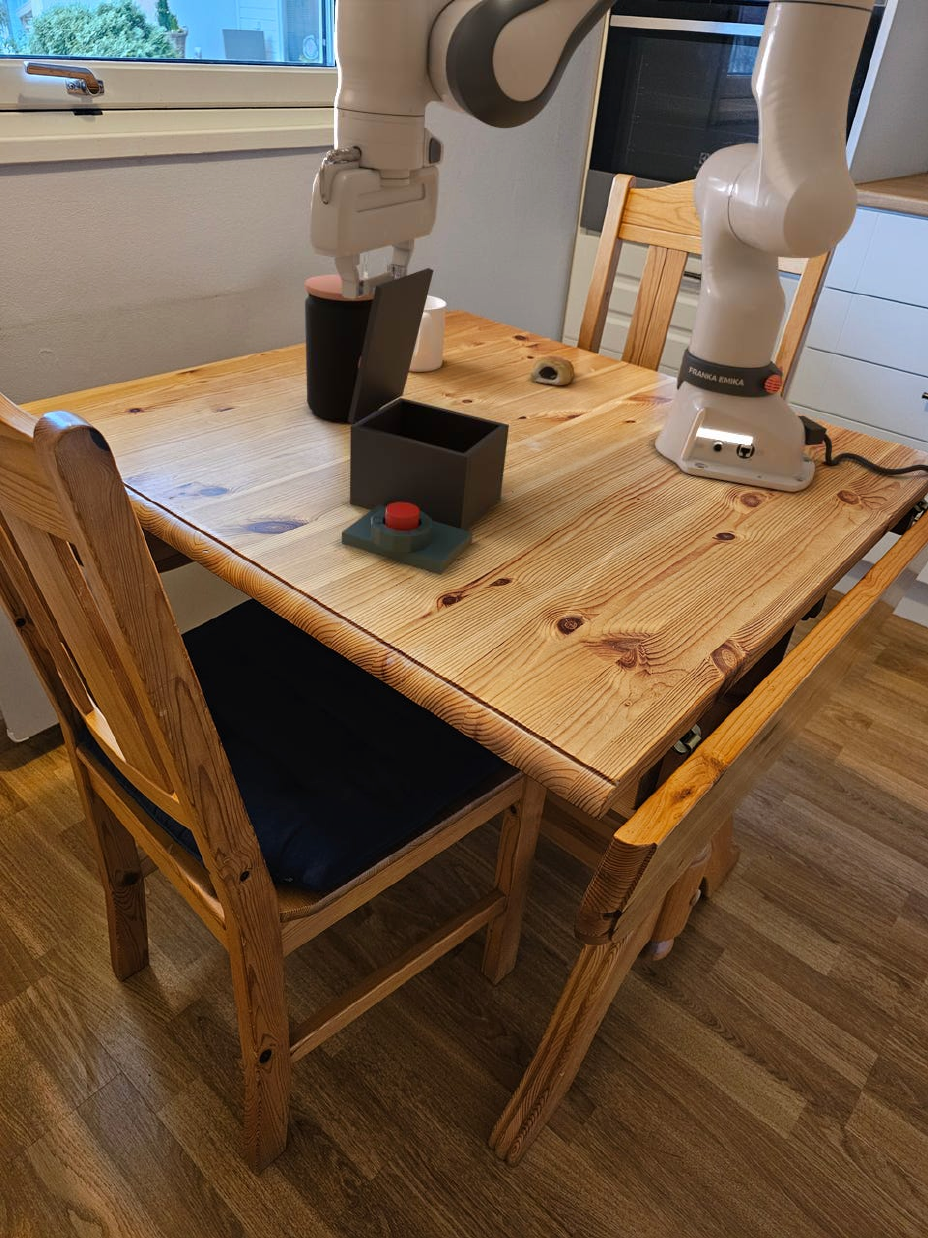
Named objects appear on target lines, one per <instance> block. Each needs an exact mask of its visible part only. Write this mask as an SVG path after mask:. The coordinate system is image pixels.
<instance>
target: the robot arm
mask: <svg viewBox="0 0 928 1238" xmlns="http://www.w3.org/2000/svg"><path fill="white" fill-rule="evenodd" d="M617 1H618V0H336V1H335V17H334V18H335V19H334V55H335V56H334V57H335V62H336V65H337V71H338V84H337V91H336V95H335V99H334V148H332V149H330V150H328V151H327V152H326V156H325V157H324V158H323V161H322V163H320V165H319V168H318V173H317V174H316V176H315V179H314V182H313V186H312V187H313V188H312V195H311V196H312V197H311V206H310V207H311V208H310V223H309V224H310V227H309V240H310V245H311V247H312V249H313V251H314V253H315V254H317V255H320V256H323V257H330V258H334V265H335V268H336V270H337V273H338V275H340V278H341V279H342V295H343V297H344V298H348V299H356V298H359V297H362V296H363V292H364V291H363V287H364V280H361V279H359V277H360V275H359V271H358V265H360V261H361V260H360V259H361V258H360V257H361V254H364V253H368V252H372V251H375V250H378V249H383V248H386V247H389V246H391V247H392V248H393V251H392V255H391V260H390V263H389V264H387V266H386V272H387V273H390V274H391V275H392V277H393V280H395V279H398V278H401V277H404V276H407V275H408V267H409V264H410V261H411V258H412V256H413V252H414V250H415V239H419V238H422V237H426V236H429V235H430V234H431V233H432V232H433V229H434V226H435V223H436V219H437V212H438V211H437V210H438V203H439V192H440V191H439V190H440V172H439V169H438V166H439V165H441V164H442V163H443V161H444V155H445V154H444V153H445V152H444V151H445V145H444V142H443V141H442V140H441V139H440V138H438V137H437V136H435V135H434V134H433V133H432V132H431V131H430V130H429V129H428V128H427V127H425V124H426V108H427V106H428V105H429V104H430V103H432V102H434V103H436V104H438V105H439V106H441V107H444V108H445V109H447V110H451V111H454V112H457V113H458V114H462V115H466V116H470V117H473V118H474V119H476V120H478V121H480V122H482V123H484V124H485V125H487V126H490V127H492V128H497V129H512V128H518V127H519V126H523V125H524V124H527V123H528V122H530V121H532V120H533V119H535V118H536V117H537V116H538V115H539V114H540V113H541V112H542V111H543V110H544V109H545V108H546V107H547V106H548V104H549V102H550V101H551V99H552V98H553V96H554V94H555V93H556V90H557V89H558V86H559V85H560V82H561V80H562V78H563V76H564V73H565V72H566V70H567V67H568V65H569V63H570V62H571V59H572V57H573V56H574V54H575V52H576V51H577V49H578V48H579V47H580V45H581V44H582V42H583V41H584V39H586V38H587V36H588V35H589V34H590V33H591V31H592V30H593V29H594V28H595V27H596V25H598V23H599V22H600V21H601V20H602V19H603V17H605V15H606V14H607V13H608V12H609V11H610V10H611V9H612V7H613V6H614V5H615V4H616V3H617ZM769 2H770V3H768V7H767V11H766V15H765V20H764V23H763V28H762V33H761V36H760V40H759V45H758V48H757V52H756V56H755V61H754V66H753V69H752V74H751V81H750V82H751V83H750V87H751V92H752V95H753V97H754V100H755V103H756V107H757V115H758V141H757V142H756V143H755V142H745V143H739V144H735V145H731V146H726V147H723V148H720V149H718V150H716V151H715V152H713V153H712V154H711V155H710V156H708V158H707V159H706V160H705V161H704V162H703V164H702V165H701V166H700V168H699V170H698V172H697V174H696V177H695V180H694V183H693V189H692V190H693V192H692V198H693V204H694V208H695V210H696V213H697V216H698V220H699V224H700V235H701V236H700V237H701V240H700V241H701V276H700V277H701V279H700V291H699V296H698V302H697V306H696V310H695V311H696V312H695V316H694V321H693V326H692V330H691V335H690V339H689V343H688V346H687V347H686V348H685V349H684V353H683V355H682V356H681V360H680V365H679V369H678V373H677V378H676V393H675V397H674V399H673V402H672V405H671V407H670V410H669V412H668V415H667V418H666V420H665V422H664V424H663V426H662V429H661V430H660V432H659V434H658V436H657V437H656V438H655V441H654V446H655V448H656V450H657V451H658V452H659V453H660V454H661V455H662V456H663V457H665V458H666V459H668V460H670V461H671V462H673V463H675V464H676V465H677V466H678V467H679V469H680V470H681V471H683V472H684V473H686V474H689V475H692V476H698V477H704V478H711V479H716V480H720V481H721V480H722V481H727V482H732V483H738V484H743V485H750V486H755V487H761V488H767V489H773V490H778V491H784V492H791V493H795V492H799V491H802V490H805V489H806V488H808V487H809V486H810V485H811V484H812V482H813V480H814V475H815V472H816V465H815V464H816V463H815V462H814V460H813V459H812V457H810V455H809V454H807V453H805V449H806V446H819V445H820V446H821V445H823V443H824V445H825V452H824V459H825V463H826V464H827V465H828V466H830V467H834V466H837V465H838V464H839V463H840V462H841V461H842V460H845V459H848V460H852V461H856V462H858V463H860V464H861V465H863V466H864V467H866V468H867V469H870V470H871V471H874V472H876V473H879V474H882V475H887V476H901V475H906V474H910V473H913V472H920V471H924V472H926V473H927V474H928V464H921V463H920V464H914V465H910V466H905V467H901V468H888V467H887V468H886V467H883V466H880V465H877V464H875V463H873V462H872V461H871V460H868V459H867V458H866V457H863V456H862V455H859V454H857V453H854V452H853V453H852V452H841V453H840V454H838V455H836V456H835V457H834V458H833V457H832V454H833V443H832V440H831V438H830V437H829V435H828V434H827V430H828V429H827V428H826V427H825V426H823V425H821V424H819V423H817V422H816V421H814V420H812V419H810V418H809V417H808V416H805V415H797V413H795V411H794V410H793V409H792V408H791V407H790V405H788V403H787V402H786V401H785V400H784V398H783V397H782V396H781V395H780V394H779V392H778V391H780V388H782V386H783V382H784V381H783V375H784V372H783V371H784V369H783V366H782V365H780V366H779V367H778V366H777V365H776V363H775V362H773V361H772V357H773V354H774V350H775V347H776V343H777V339H778V336H779V333H780V329H781V326H782V322H783V319H784V316H785V312H786V305H787V301H786V300H787V299H786V294H785V291H784V289H783V286H782V283H781V278H780V269H779V268H780V267H779V266H780V265H779V258H784V259H812V258H819V257H821V256H823V255H825V254H826V253H829V252H830V251H832V250H833V249H835V248H836V247H837V245H839V244H840V243H841V242H842V240H843V239H844V238H845V237H846V235H847V234H848V233H849V231H850V229H851V228H852V227H851V226H852V224H853V222H854V219H855V217H856V213H857V208H858V192H857V187H856V185H855V183H854V180H853V178H852V176H851V173H850V170H849V166H848V158H847V122H848V121H847V119H848V118H847V117H848V109H849V102H850V101H849V100H850V95H851V89H852V86H853V81H854V77H855V74H856V70H857V66H858V62H859V60H860V59H859V58H860V55H861V52H862V49H863V45H864V41H865V37H866V34H867V31H868V26H869V23H870V20H871V17H872V12H873V10H874V8H875V7H874V6H875V3H876V0H769Z"/></svg>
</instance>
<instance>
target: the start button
mask: <svg viewBox="0 0 928 1238" xmlns="http://www.w3.org/2000/svg"><path fill="white" fill-rule="evenodd" d="M419 512H420V510H419V508H418V507H417V506H416V505H414V504H411V503H406V502H396V503H392V504H389V505H388V506H387V507H386V514H385V524H386V526H387V527H388V528H391V529H394V530H401V531H409V530H413V529H417V528H418V526H419Z"/></svg>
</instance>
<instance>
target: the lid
mask: <svg viewBox="0 0 928 1238" xmlns="http://www.w3.org/2000/svg"><path fill="white" fill-rule="evenodd" d="M433 274H434V269H432V268H429V267H427V268H424V269H422V270H419V271H416V272H413V273H410V274H407V276H404V277H401V278H398V279H395V280H393V277H392V275H391V274H390V273H387V271H386V272H382V273H379V274H375V275H373V276H369V277H366V278H367V279H364V287H363V291H364V292H363V296H367V295H370V294H372V295H374V298H373V303H372V307H371V312H370V317H369V322H368V327H367V332H366V336H365V341H364V346H363V351H362V356H361V360H360V365H359V370H358V375H357V380H356V385H355V389H354V394H353V399H352V404H351V409H350V413H349V418H348V421H349V422H351V423H350V424H355V423H357V421H358V420H360V419H362V418H364V417H365V416H367V415H369V414H371V413H372V412H374V411H376V410H380V409H381V408H383V407H385V406H387V405H388V404H390V403H392V402H394V401H395V400H398V399H399V398H402V396H404V392H405V389H406V384H407V379H408V376H409V372H410V371H409V368H410V364H411V360H412V356H413V352H414V348H415V344H416V340H417V336H418V332H419V328H420V324H421V319H422V315H423V311H424V307H425V303H426V299H427V295H428V296H429V292H430V287H431V282H432V277H433Z"/></svg>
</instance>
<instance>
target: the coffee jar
mask: <svg viewBox="0 0 928 1238" xmlns="http://www.w3.org/2000/svg"><path fill="white" fill-rule="evenodd" d="M367 278H368V277H363V276H359V279H361V280H364V279H367ZM304 289H305V291H306V292H307V295H308V296H307V297H306V299H305V300H304V322H305V323H304V325H305V326H304V327H305V329H304V330H305V370H306V371H305V372H306V403H307V405H308V408H309V410H310V411H311V412H312V414H313V415H314V416H315V417H317V418H319V419H322V420H324V421H328V422H332V423H340V424H341V423H342V424H352V423H351V422H349V421H348V418H349V413H350V409H351V404H352V399H353V394H354V389H355V385H356V380H357V375H358V370H359V365H360V360H361V356H362V351H363V346H364V341H365V336H366V332H367V327H368V322H369V317H370V312H371V307H372V303H373V298H374V295H372V294H370V295H367V296H362V297H359V298H356V299H348V298H344V297H343V295H342V279H341V278H340V275H339V274H323V275H317V276H312V277H310V278H307V279H306V280H305V281H304ZM378 410H379V409H378ZM378 410H376V411H378ZM376 411H374V412H376ZM374 412H372V413H371V414H373V413H374ZM371 414H369V415H371ZM369 415H367V416H369ZM367 416H365V417H364V418H366V417H367ZM364 418H362V419H364ZM362 419H360V420H362ZM360 420H358V421H357V422H359V421H360ZM357 422H356V423H357Z"/></svg>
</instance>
